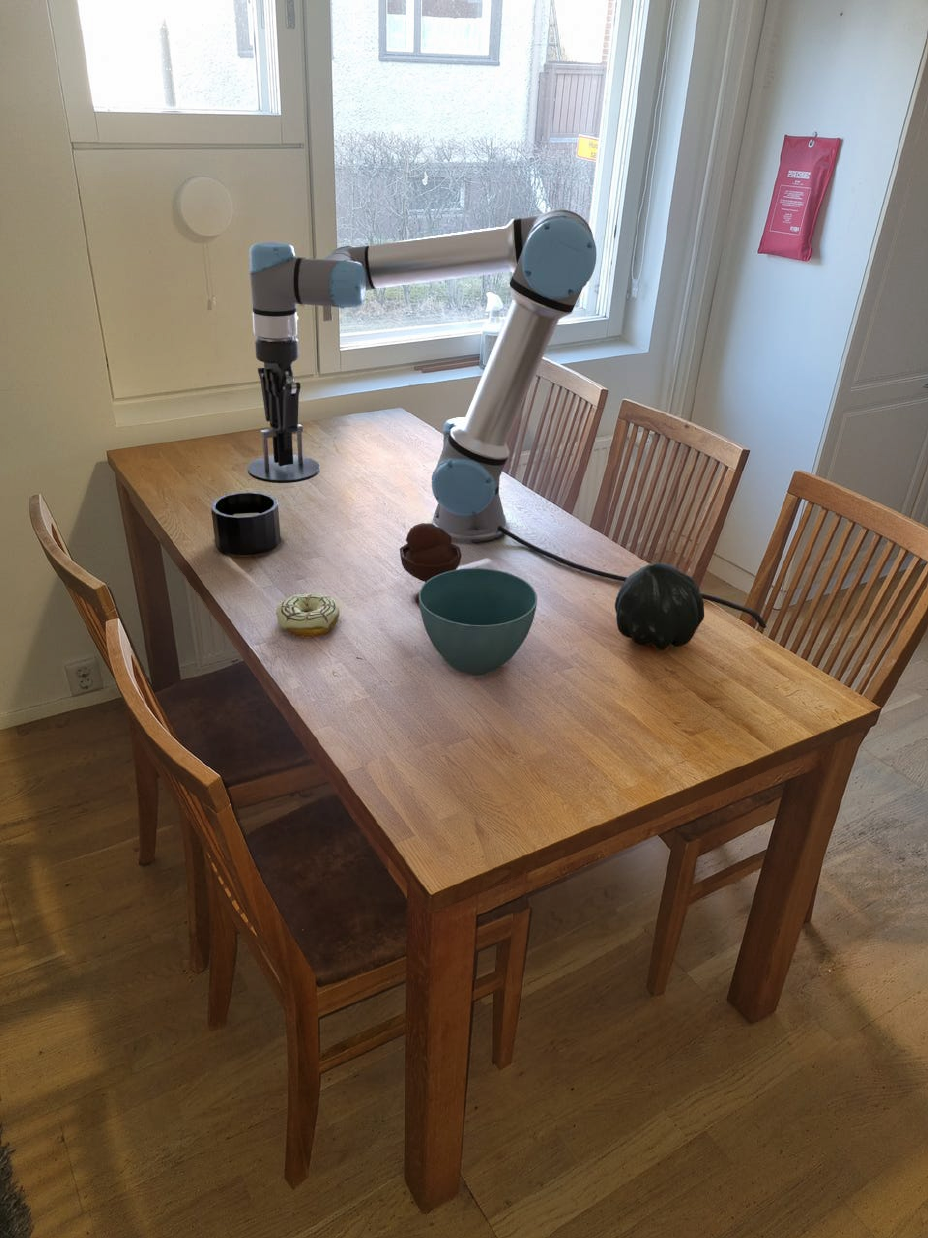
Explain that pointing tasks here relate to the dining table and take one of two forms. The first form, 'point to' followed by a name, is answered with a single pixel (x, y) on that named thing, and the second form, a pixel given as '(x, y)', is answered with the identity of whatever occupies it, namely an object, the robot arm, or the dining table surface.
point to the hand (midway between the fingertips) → (283, 462)
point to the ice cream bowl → (429, 553)
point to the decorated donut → (308, 614)
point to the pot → (246, 523)
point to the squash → (659, 606)
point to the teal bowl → (477, 617)
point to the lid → (291, 473)
